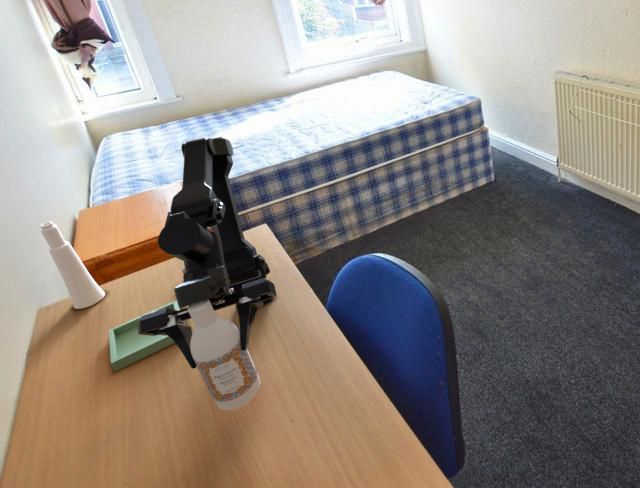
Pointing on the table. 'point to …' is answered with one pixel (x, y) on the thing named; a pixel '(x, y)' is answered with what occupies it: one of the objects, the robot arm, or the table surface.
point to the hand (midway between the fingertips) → (219, 359)
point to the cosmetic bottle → (71, 269)
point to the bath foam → (222, 358)
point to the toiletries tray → (135, 341)
